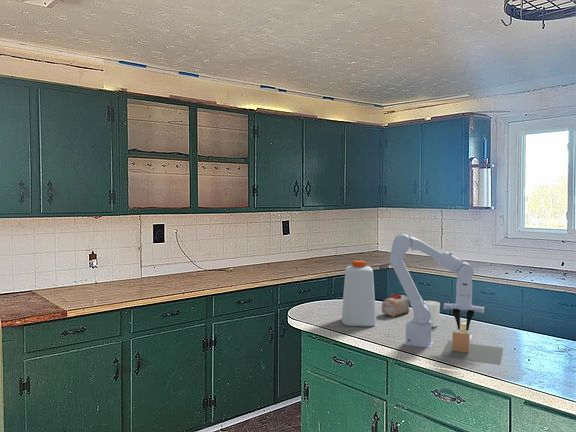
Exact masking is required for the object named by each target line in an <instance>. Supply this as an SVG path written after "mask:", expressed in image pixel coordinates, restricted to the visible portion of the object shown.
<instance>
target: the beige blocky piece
mask: <svg viewBox="0 0 576 432" xmlns="http://www.w3.org/2000/svg"><path fill="white" fill-rule="evenodd" d="M466 325H467V322H461V321H460V330H459V332H464V333H468V331H467V330H466ZM472 338H473V335H472V334H470V342H471V341H472Z"/></svg>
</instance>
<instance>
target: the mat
mask: <svg viewBox="0 0 576 432" xmlns="http://www.w3.org/2000/svg"><path fill="white" fill-rule="evenodd" d="M503 352H504V347H501V346H500V347H499V346H492V345H483V344H477V343H476V344H474V343H470V352H469V353H467V352H460V351H452V340H448V341H447V343H446V345H445V347H444V348H443V350H442V352H441V354H440V357H442V358H450V359H456V360H457V359H458V360H463V361H471V362H477V363H484V364H485V363H486V364H492V365H499V366H500V365H501V363H502V359H503V358H502V357H503Z"/></svg>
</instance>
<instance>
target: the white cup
mask: <svg viewBox="0 0 576 432" xmlns="http://www.w3.org/2000/svg"><path fill="white" fill-rule="evenodd" d="M423 301H424V303H426V304H427V305H428V306H429V308H430V314H431V319H430V320H431V328H435V327H438V326H439V321H440V311H441V310H440V307H441V303H440V301H436V300H435V301H434V300H423Z"/></svg>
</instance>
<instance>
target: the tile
mask: <svg viewBox="0 0 576 432" xmlns="http://www.w3.org/2000/svg"><path fill="white" fill-rule="evenodd" d="M470 335H471V333H469V332H467V333H464V332H460V331H452V335H451V336H452V338H451V341H452V351H460V352H467V353H469V352H470V344H471V343H470V342H471V341H470Z"/></svg>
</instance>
